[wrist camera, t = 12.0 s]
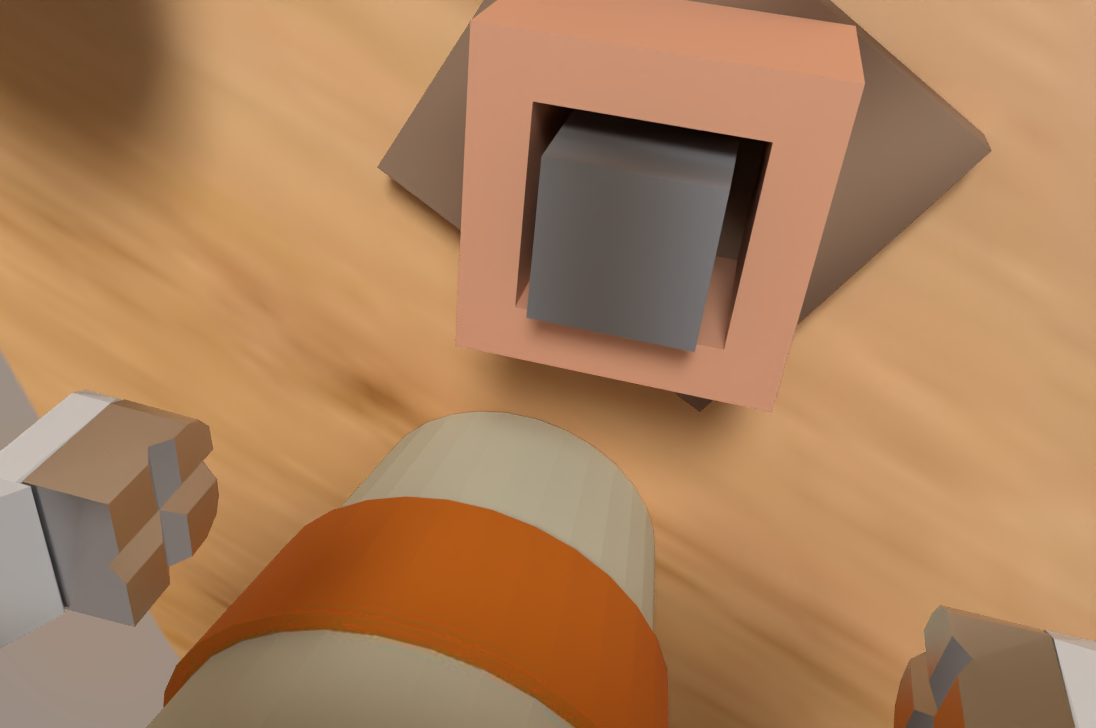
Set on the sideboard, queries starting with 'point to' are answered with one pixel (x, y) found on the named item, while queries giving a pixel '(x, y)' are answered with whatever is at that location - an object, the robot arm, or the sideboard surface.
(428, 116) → the base
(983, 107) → the sideboard surface
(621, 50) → the pink square socket block
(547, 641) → the reusable coffee cup
